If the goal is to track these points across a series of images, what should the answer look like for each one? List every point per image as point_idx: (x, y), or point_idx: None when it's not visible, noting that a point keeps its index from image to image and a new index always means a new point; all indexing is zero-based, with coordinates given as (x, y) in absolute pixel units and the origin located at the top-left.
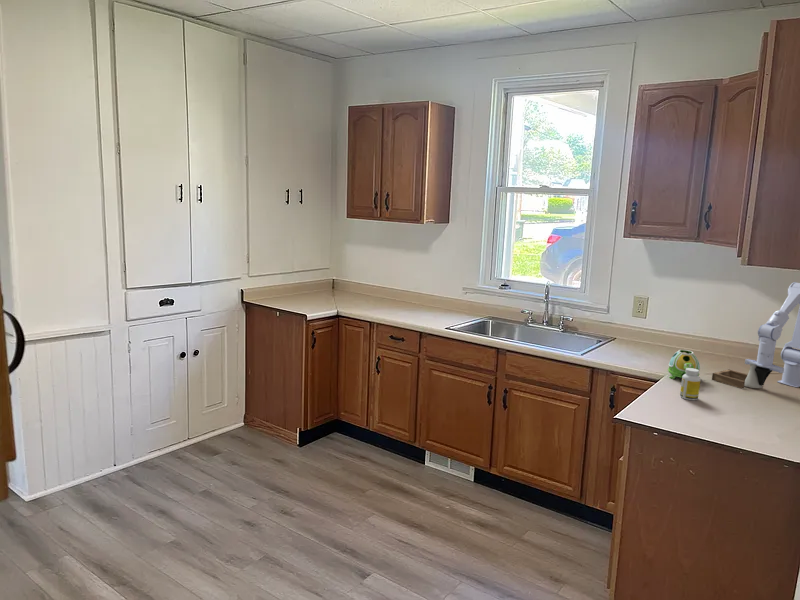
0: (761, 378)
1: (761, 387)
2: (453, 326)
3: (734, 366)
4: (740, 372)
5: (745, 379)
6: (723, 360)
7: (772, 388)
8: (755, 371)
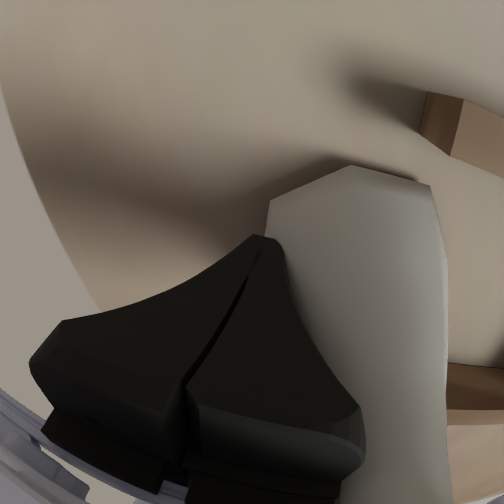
0: (222, 279)
1: None
2: None
3: None
4: (466, 424)
5: (447, 291)
6: (467, 489)
7: None
8: None
